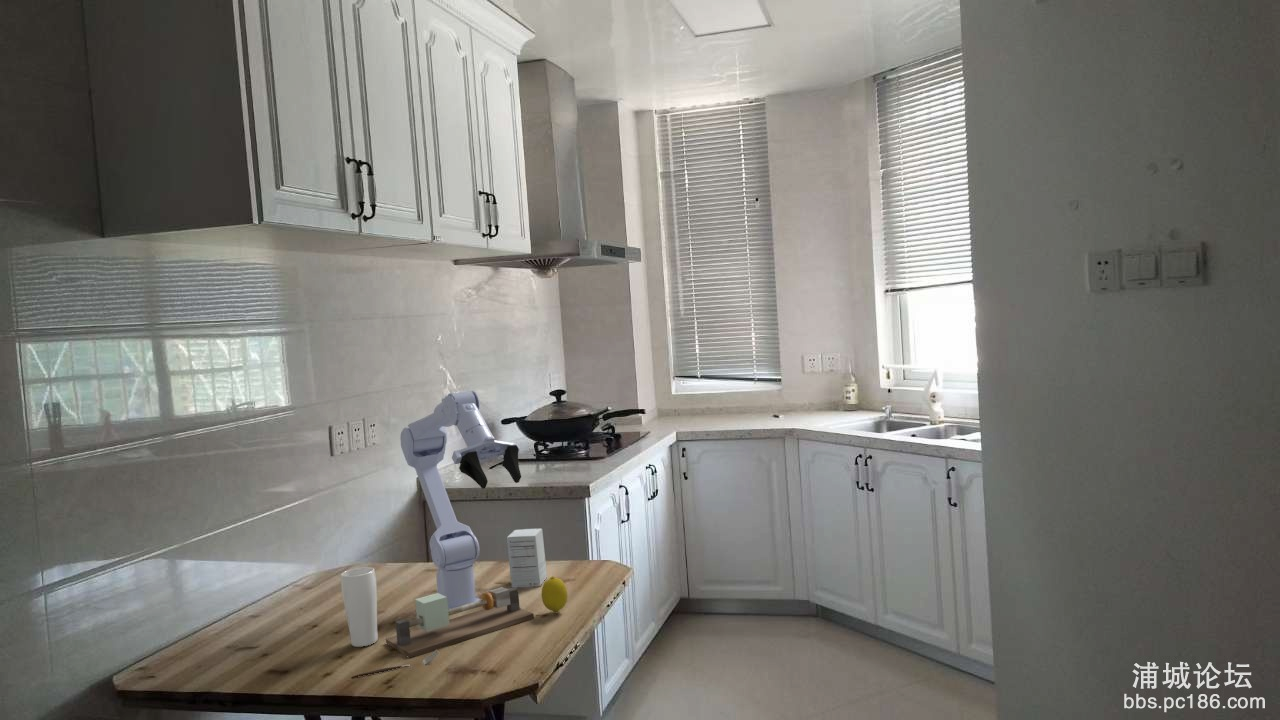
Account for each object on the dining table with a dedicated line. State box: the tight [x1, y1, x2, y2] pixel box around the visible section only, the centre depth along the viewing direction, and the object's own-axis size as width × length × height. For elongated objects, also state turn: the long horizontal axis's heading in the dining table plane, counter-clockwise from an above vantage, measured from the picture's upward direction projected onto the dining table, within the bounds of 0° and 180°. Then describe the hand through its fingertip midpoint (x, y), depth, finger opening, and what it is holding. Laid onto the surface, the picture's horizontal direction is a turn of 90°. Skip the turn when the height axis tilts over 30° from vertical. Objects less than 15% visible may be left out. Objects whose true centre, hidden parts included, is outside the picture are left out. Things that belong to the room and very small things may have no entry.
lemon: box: [541, 575, 568, 614], centre depth 184 cm, size 6×6×8 cm
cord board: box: [385, 586, 535, 659], centre depth 178 cm, size 12×28×6 cm, turn 128°
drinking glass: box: [340, 566, 379, 648], centre depth 176 cm, size 7×7×15 cm
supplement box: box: [506, 528, 548, 589], centre depth 209 cm, size 7×7×13 cm
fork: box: [352, 649, 439, 678], centre depth 160 cm, size 3×16×2 cm, turn 111°
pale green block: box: [414, 592, 450, 632], centre depth 175 cm, size 4×5×6 cm
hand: (502, 482), depth 173 cm, fingers open, 7 cm apart
